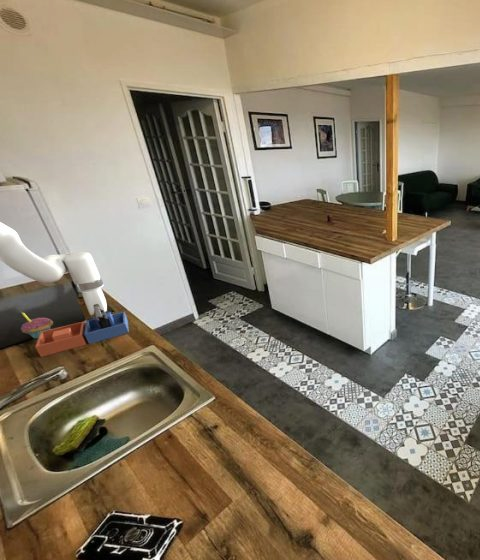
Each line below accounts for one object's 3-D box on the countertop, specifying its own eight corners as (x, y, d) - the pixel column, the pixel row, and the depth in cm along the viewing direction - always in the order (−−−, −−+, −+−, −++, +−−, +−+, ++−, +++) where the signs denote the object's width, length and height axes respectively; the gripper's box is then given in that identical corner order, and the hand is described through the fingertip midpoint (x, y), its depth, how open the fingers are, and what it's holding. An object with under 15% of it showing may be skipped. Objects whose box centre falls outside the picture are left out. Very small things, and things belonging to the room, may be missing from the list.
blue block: (99, 329, 123) (95, 319, 121) (100, 324, 126) (95, 315, 124) (114, 325, 126) (110, 316, 124) (114, 320, 129) (110, 311, 127)
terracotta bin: (40, 357, 112) (35, 346, 110) (46, 341, 120) (40, 331, 119) (86, 344, 119) (81, 334, 117) (88, 330, 127) (83, 321, 126)
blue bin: (88, 343, 119) (84, 334, 117) (90, 329, 128) (86, 320, 126) (128, 332, 126) (125, 323, 125) (127, 320, 135) (124, 311, 133)
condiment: (91, 315, 138) (81, 291, 133) (113, 313, 140) (104, 289, 135) (81, 323, 132) (69, 299, 127) (104, 321, 134) (94, 297, 129)
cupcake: (34, 343, 119) (19, 316, 114) (21, 338, 122) (6, 312, 117) (62, 331, 127) (49, 305, 122) (49, 327, 129) (36, 302, 124)
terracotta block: (57, 346, 117) (52, 336, 115) (58, 341, 120) (53, 331, 118) (73, 342, 119) (68, 332, 117) (74, 337, 122) (69, 327, 121)
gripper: (78, 279, 122) (95, 319, 130) (74, 295, 110) (93, 337, 118) (102, 275, 126) (118, 313, 134) (101, 289, 115) (118, 330, 122)
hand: (106, 324), depth 126 cm, fingers closed on blue block, 4 cm apart
